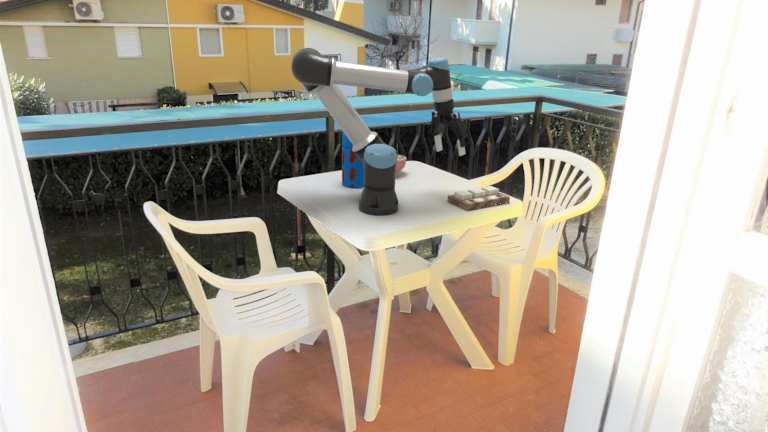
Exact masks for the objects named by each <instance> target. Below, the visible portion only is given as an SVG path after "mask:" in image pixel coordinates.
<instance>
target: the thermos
mask: <svg viewBox="0 0 768 432" xmlns="http://www.w3.org/2000/svg"><path fill="white" fill-rule="evenodd" d="M367 127H368V128H369V126H368V125H367ZM341 131H342V130H341ZM341 133H342V138H341V140H342V141H341V143H342V144H341V146H342V147H341V153H342V154H341V184H342V186H343V187H345V188H348V189H362V188H363V189H364V167H363V164H362V163H361V161H360V160H359V159H358V157H357V156H356V155H355V153H354V152H353V150H352V149H353V144H352V143H351V141H350V140H349V139H348V137H347V136H346V135H345V133H344V132H343V131H342V132H341Z"/></svg>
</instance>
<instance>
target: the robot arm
mask: <svg viewBox="0 0 768 432" xmlns="http://www.w3.org/2000/svg"><path fill="white" fill-rule="evenodd" d="M292 57H293V58H292V61H291V67H290V68H291V72H292V73H291V74H292V75H293V77H294V79H295V80H296V81H298V82H299V83H300V84H302V85H303V87H304V88H305V89H306V91H307V92H308V94H309V93H310V94H315V96H316V97H317V99H318V100H319V101H320V103H321V104H322V105H323V107H324V108H325V109H326V111H327V112H328V113H329V115H330V116H331V117H332V118H333V120H334V121H335V122H336V125H337V126H338V127H339V128H340V129H341V131H343V132H344V133H345V135H346V136H347V137H348V139H349V140H350V141H351V143H352V144H353V149H352V150H353V152H354V153H355V155H356V156H357V157H358V159H359V160H360V161H361V163H362V164H363V167H364V187H363V190H362V192H361V194H360V197H359V200H358V210H359V211H360V212H362V213H366V214H367V215H375V216H384V215H385V216H386V215H387V216H388V215H392V214H396V213H397V212H398V211H399V207H400V205H399V204H400V203H399V199H398V196H397V194H396V193H397V192H396V174H397V173H396V161H397V156H396V154H397V151H396V149H395V148H394V147H393V146H391V145H389V144H387V143H386V142H384V141H383V140H382V138H381V137H380V135H379V134H378V132H376V131H372V130H371V129H369V126H368V125H367V124H366V123H365V121H364V120H363V119H362V117H361V116H360V114H359V113H358V111H357V110H356V109H355V107H354V106H353V105H352V104H351V102H350V100H349V99H348V98H347V97H346V95H345V94H344V93H343V91H342V89H341V88H340V86H338V85H341V86H349V87H350V86H351V87H357V88H364V89H373V90H380V91H381V90H382V91H391V92H398V93H406V94H411V95H416V96H419V97H425V96H427V95H429V94H430V93H432V94H431V95H432V100H433V107H434V111H432V112H431V119H430V120H431V121H430V127H429V131H428V133H429V134H431V135H432V136H433V140H434V144H435V150H436V151H435V152H437V153H438V152H440V151H443V150H444V149H443V142H442V135H441V129H442V127H443V125H448V126H449V127H450V128H451V130H452V131H453V133H454V135H456V137H457V139H456V144H457V150H458V151H457V152H458V157H462V156H464V155H466V148H465V147H466V141H465V138H468V137H469V134H468V132H467V130H466V127H465V125H464V122H463V121H462V118H461V115H460V112H455V113H454V108H455V102H454V101H455V100H454V99H453V87H452V82H451V81H452V80H451V72H450V71H451V69H450V66H449V61H448V58H447V57H444V56H443V57H442V56H441V57H440V56H439V57H435V58H432V59H428V60H427V65H426V66H423V67H419V68H413V69H405V70H401V69H396V68H395V69H394V68H390V67H389V68H388V67H381V66H374V65H373V66H372V65H367V64H360V63H353V62H352V63H351V62H347V61H346V62H345V61H337V60H336V59H335V58H334V57H332V56H326V55H322V53H321V52H320V51H318V50H317V49H315V48H312V47H304V48H302V49H299V50H297V52H296V53H295V54H294V55H293V56H292ZM367 126H368V127H367Z"/></svg>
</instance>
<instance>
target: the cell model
mask: <svg viewBox="0 0 768 432" xmlns="http://www.w3.org/2000/svg"><path fill="white" fill-rule="evenodd" d="M396 156H397V161H396V174H397V173H399V172H400V171H402V170H403V169H404V168H405V166H406V162H407V157H406V156H405V155H402V154H397V153H396Z"/></svg>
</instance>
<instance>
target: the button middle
mask: <svg viewBox="0 0 768 432" xmlns="http://www.w3.org/2000/svg"><path fill="white" fill-rule="evenodd" d="M467 192H470V193H472V197H474V198H480V197H485V196H486V191H484V190H481V188H478V187H476V188H475V187H474V188H470V189H469V188H468V189H467Z"/></svg>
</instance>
